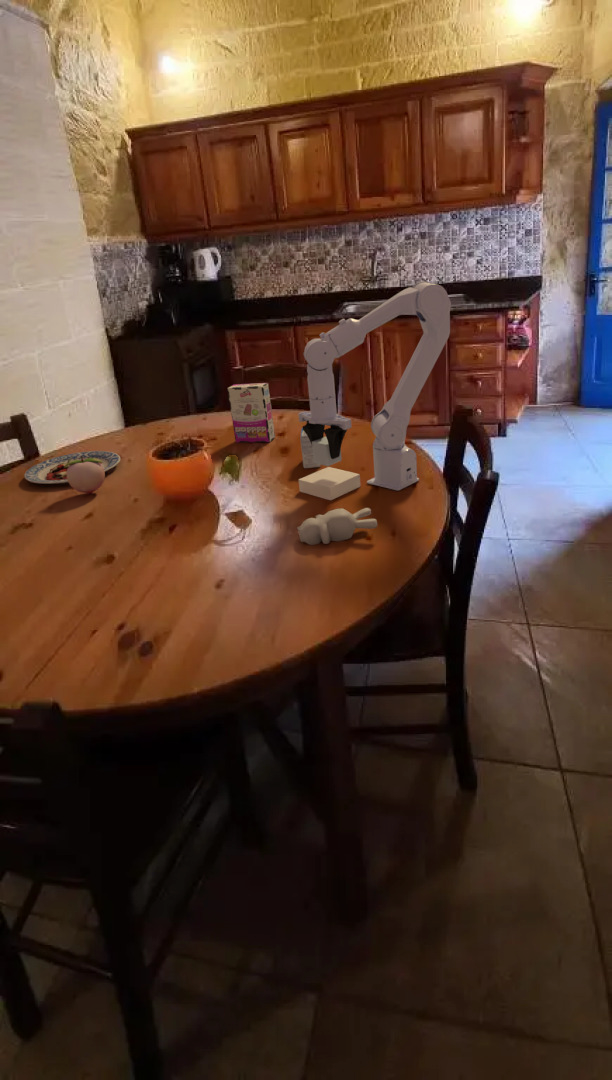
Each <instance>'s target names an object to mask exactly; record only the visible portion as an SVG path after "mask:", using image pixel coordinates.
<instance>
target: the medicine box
mask: <svg viewBox="0 0 612 1080" xmlns="http://www.w3.org/2000/svg"><path fill="white" fill-rule="evenodd" d="M300 447H301V455H302V457H301V458H302V466H303V468H304V469H313V468H315V469H316V468H321V465H320V464H316V463H314V460H313V449H312V444H311V442H310V440H309V438H308V436H307V434H306V433H305V432H304V430H303V427H302V428H300Z"/></svg>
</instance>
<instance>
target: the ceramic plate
mask: <svg viewBox="0 0 612 1080" xmlns="http://www.w3.org/2000/svg"><path fill="white" fill-rule="evenodd" d="M81 456H82V458H83V461H84V460H85V459H88V458H96V459H99V460H101V461H102V462H103V463H101V462H99V463H100V464H101V465H102V466H103V469H104V472H105V473H106V472H107V471H110V470H111V469H113V468H114V467H116V466H117V465H118V464H119V463H120V461H121V456H120V455H119V454H117V453H116V452H112V451H106V450H91V451H90V450H89V451H81V452H80V451H79V452H74V453H68V454H64V455H60V456H55V457H52V458H50V459H46V460H44V461H41V462H39V463H37V464H34V465H33V466H31V467H30V468H29V469H26V471H25V473H24V479H25V480H26V481H29V482H30V483H35V484H47V485H48V484H49V485H51V484H52V485H53V484H67V483H68V484H69V482H68V480H67V469H68V467H69V466H70V465H71V464H70V465H68V466H66V467H65V468H64V466H65V465H66V464H67V463H69V462H71V461H74V460H80V461H82V460H81Z"/></svg>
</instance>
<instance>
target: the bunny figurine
mask: <svg viewBox="0 0 612 1080" xmlns="http://www.w3.org/2000/svg"><path fill="white" fill-rule="evenodd" d="M369 515H372V509H371V508H370V507H364V508H362V509H360V510H358V511H356V512H355V513H351V512H349V511H348V510H346V509H344V508H343V507H342V508H336V509H331V510H328V511H327V512H326V513H324V514H317V515H315V517H309V518H306V519H305V520H304V521H303V522H302V523H301V525H300V526H297V532H298V535H299V540H300V542H301V543H306V544H308V545H310V546H313V545H318V544H320V543H321V542H322V543H323V544H324V545H328V544H329V543H330V542H331V541H333V542H343V541H345V540H349V539H351V538H352V537H353V534H354V533H355V530H356V529H364V530H365V529H367V530H368V529H370V530H372V529H376V528H377V527H378V521H377V519H376V518H366V519H361V518H364V517H368V516H369Z"/></svg>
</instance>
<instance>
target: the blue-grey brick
mask: <svg viewBox="0 0 612 1080" xmlns="http://www.w3.org/2000/svg"><path fill="white" fill-rule="evenodd" d="M312 449H313V460H314V463H316V464H320V465H322V466H325V467H331V466H332V465H334V464H337V463H339V462H342V448H341V449H340V455H339V457H337V458H335V459H331V456H330V451H329V444H328V440H327V437H326V436H323V438H321V439H318V440H315V441H313V442H312Z"/></svg>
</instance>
